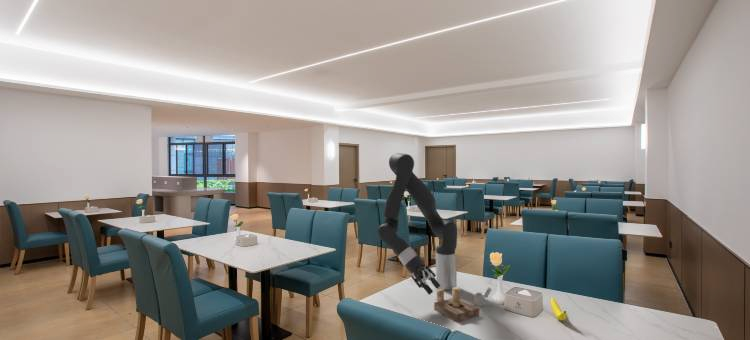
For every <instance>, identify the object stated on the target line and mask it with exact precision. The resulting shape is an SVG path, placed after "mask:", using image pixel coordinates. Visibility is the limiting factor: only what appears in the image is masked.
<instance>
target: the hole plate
mask: <svg viewBox="0 0 750 340" xmlns="http://www.w3.org/2000/svg"><path fill="white" fill-rule="evenodd" d="M433 310H434V311H436V312H437V313H440V314H441V315H442V316H445V317H447V318H448V319H450V320H452V321H454V322H456V323H459V322H462V321H465V320H468V319H469V320H470V319H472V318H475V317H480V307H479V306H478V307H477V306H476V305H473V304H471V303H469V302H467V301H465V300H463V299H461V298H460V308H457V309H455V308H453V307H452V297H451V298H447V299H444V300H443V301H434V305H433Z"/></svg>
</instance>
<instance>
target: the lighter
mask: <svg viewBox="0 0 750 340" xmlns="http://www.w3.org/2000/svg"><path fill="white" fill-rule="evenodd" d="M491 292H492V288H491V287H488V288H487V289H486V291H485V293H484V294H482V292H476V293H475V294H474V297H473V298H474V301H473V302H474V303H473V304H474V305H473V306H476V307H477V306H478V307H485V298H486V299H487V298H488V297H489V295H490V294H491Z"/></svg>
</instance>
